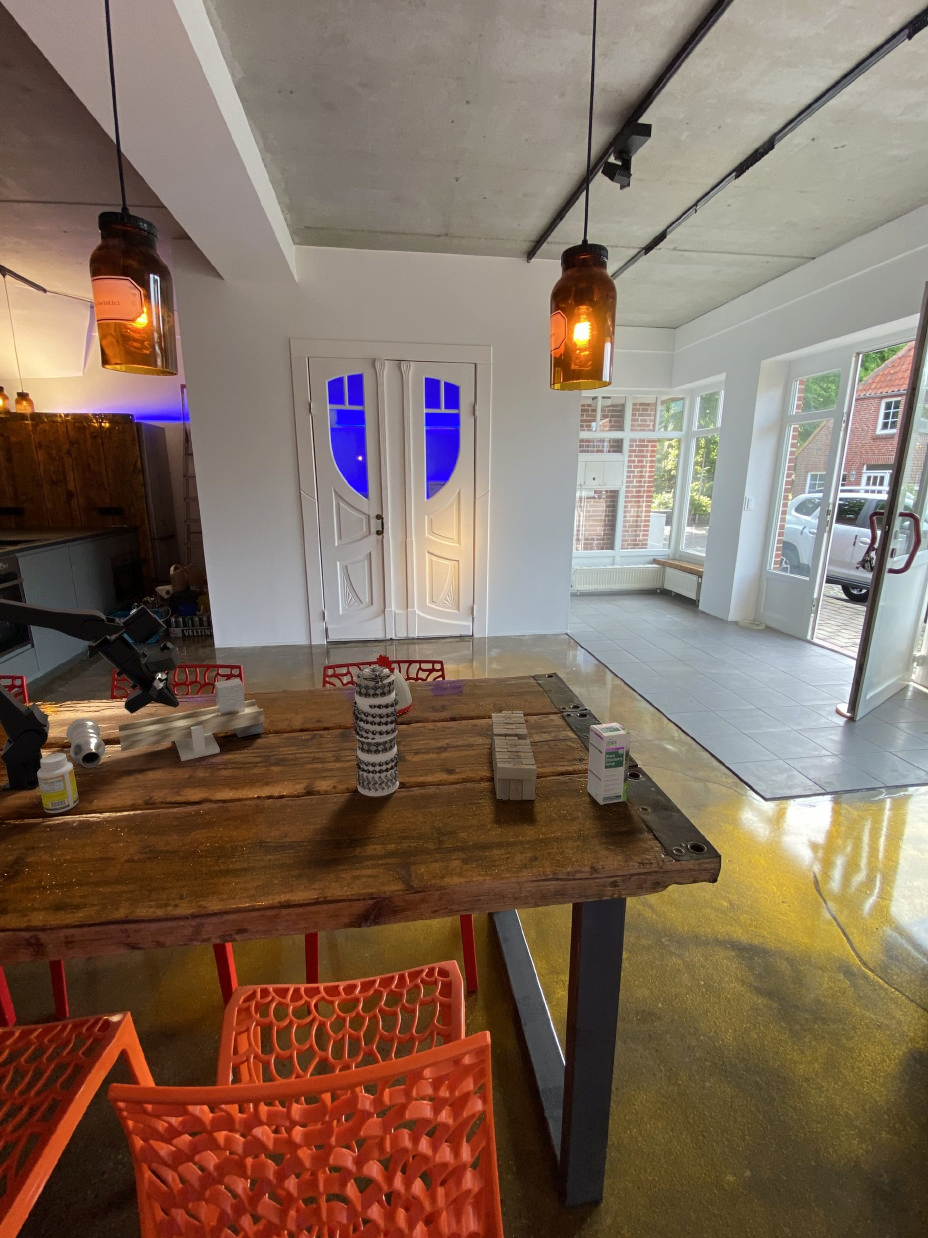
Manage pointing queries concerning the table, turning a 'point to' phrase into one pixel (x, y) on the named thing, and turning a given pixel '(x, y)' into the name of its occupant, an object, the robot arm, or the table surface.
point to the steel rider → (229, 697)
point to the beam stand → (197, 744)
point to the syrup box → (608, 763)
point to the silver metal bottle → (85, 742)
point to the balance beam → (189, 726)
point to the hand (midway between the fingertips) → (177, 705)
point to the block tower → (512, 757)
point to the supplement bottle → (57, 783)
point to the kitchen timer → (398, 685)
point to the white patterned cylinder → (376, 731)
